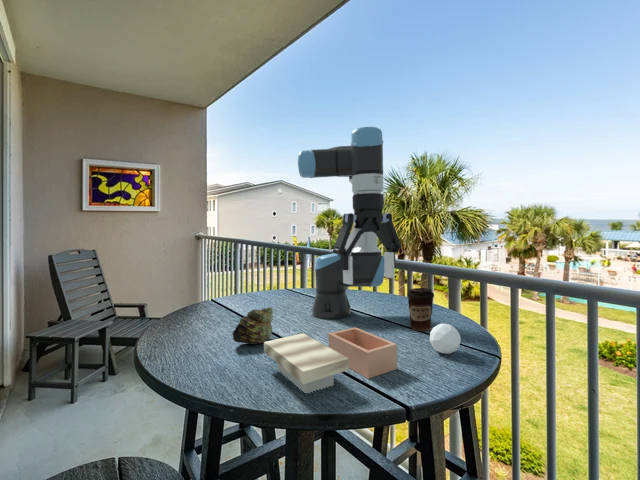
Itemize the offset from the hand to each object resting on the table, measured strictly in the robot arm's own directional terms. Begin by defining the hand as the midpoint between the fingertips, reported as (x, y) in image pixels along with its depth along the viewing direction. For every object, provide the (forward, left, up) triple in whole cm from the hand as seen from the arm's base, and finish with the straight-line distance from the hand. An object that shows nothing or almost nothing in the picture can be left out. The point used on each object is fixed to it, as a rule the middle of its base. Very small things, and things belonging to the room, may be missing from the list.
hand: (369, 280), depth 82 cm
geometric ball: (+6, +21, -21) cm, 30 cm away
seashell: (-32, -18, -21) cm, 43 cm away
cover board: (-3, -17, -17) cm, 24 cm away
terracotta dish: (-2, -1, -21) cm, 21 cm away
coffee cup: (-11, +31, -21) cm, 39 cm away
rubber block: (-3, -17, -21) cm, 27 cm away
